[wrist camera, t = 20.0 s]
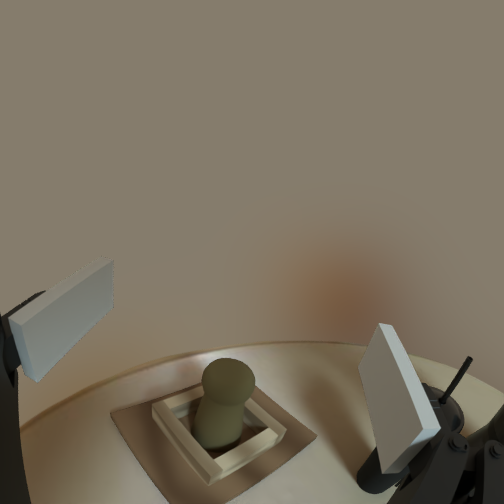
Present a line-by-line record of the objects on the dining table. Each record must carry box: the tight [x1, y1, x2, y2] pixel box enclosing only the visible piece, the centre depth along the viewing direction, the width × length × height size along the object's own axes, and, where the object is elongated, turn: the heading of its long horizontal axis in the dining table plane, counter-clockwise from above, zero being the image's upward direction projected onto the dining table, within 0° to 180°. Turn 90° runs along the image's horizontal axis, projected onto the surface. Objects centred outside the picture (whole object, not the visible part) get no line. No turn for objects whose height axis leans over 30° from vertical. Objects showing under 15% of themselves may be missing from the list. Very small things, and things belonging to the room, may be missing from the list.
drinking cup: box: [357, 356, 473, 494], centre depth 22 cm, size 8×8×20 cm
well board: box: [110, 382, 318, 504], centre depth 30 cm, size 20×16×4 cm
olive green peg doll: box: [190, 358, 255, 453], centre depth 28 cm, size 6×6×11 cm
